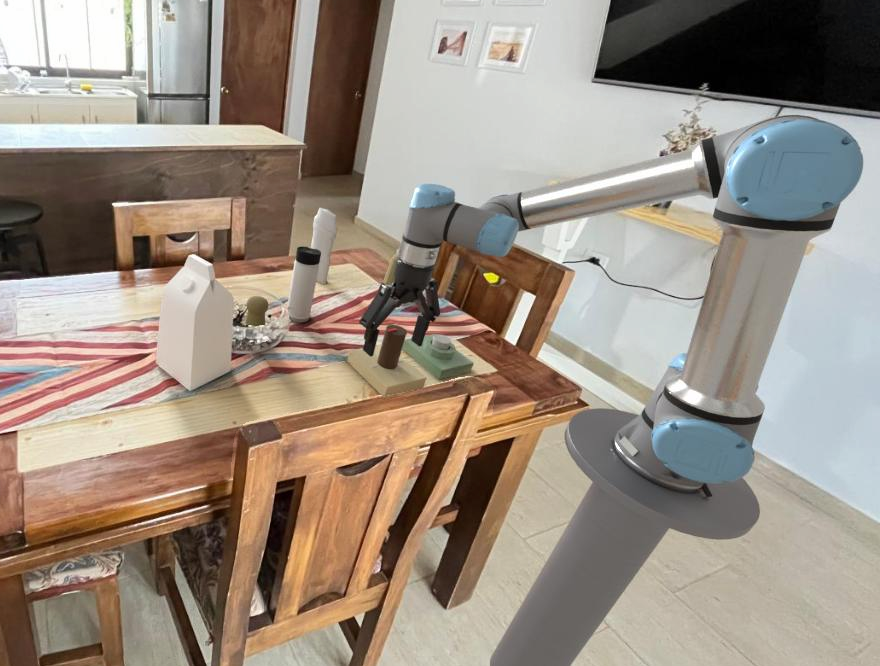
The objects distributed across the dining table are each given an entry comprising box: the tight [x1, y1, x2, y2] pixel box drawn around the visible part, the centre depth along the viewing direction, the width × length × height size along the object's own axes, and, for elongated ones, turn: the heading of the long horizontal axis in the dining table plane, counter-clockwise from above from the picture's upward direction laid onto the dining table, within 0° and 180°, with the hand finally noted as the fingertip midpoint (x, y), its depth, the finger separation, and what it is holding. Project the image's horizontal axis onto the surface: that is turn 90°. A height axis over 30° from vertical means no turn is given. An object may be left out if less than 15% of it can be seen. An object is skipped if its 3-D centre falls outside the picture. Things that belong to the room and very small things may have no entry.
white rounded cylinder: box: [310, 207, 338, 285], centre depth 155 cm, size 11×4×22 cm, turn 29°
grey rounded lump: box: [432, 333, 452, 350], centre depth 123 cm, size 4×4×2 cm
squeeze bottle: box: [383, 248, 399, 299], centre depth 151 cm, size 8×8×18 cm
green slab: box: [402, 333, 475, 380], centre depth 124 cm, size 13×10×4 cm
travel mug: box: [286, 246, 321, 323], centre depth 133 cm, size 6×7×20 cm
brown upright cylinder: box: [377, 324, 408, 369], centre depth 114 cm, size 4×4×9 cm
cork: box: [244, 295, 269, 326], centre depth 124 cm, size 6×6×11 cm
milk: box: [155, 253, 235, 392], centre depth 107 cm, size 12×12×26 cm
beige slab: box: [346, 343, 427, 397], centre depth 117 cm, size 14×11×3 cm
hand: (392, 348), depth 114 cm, fingers open, 13 cm apart
